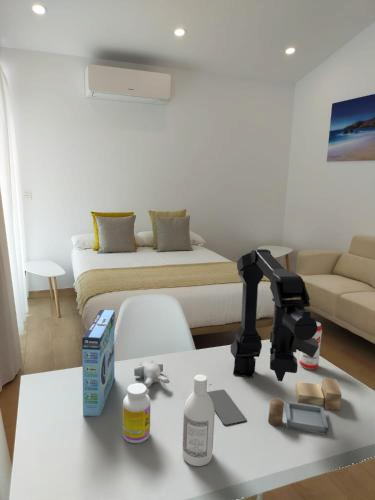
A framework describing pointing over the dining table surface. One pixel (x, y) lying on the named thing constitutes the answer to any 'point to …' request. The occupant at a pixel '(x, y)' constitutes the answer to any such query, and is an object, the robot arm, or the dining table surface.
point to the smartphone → (226, 408)
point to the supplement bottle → (136, 414)
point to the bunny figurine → (150, 373)
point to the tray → (306, 417)
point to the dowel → (276, 412)
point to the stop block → (331, 394)
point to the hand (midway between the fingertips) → (279, 379)
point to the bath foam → (198, 424)
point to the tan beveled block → (309, 393)
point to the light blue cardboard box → (98, 362)
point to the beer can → (313, 362)
